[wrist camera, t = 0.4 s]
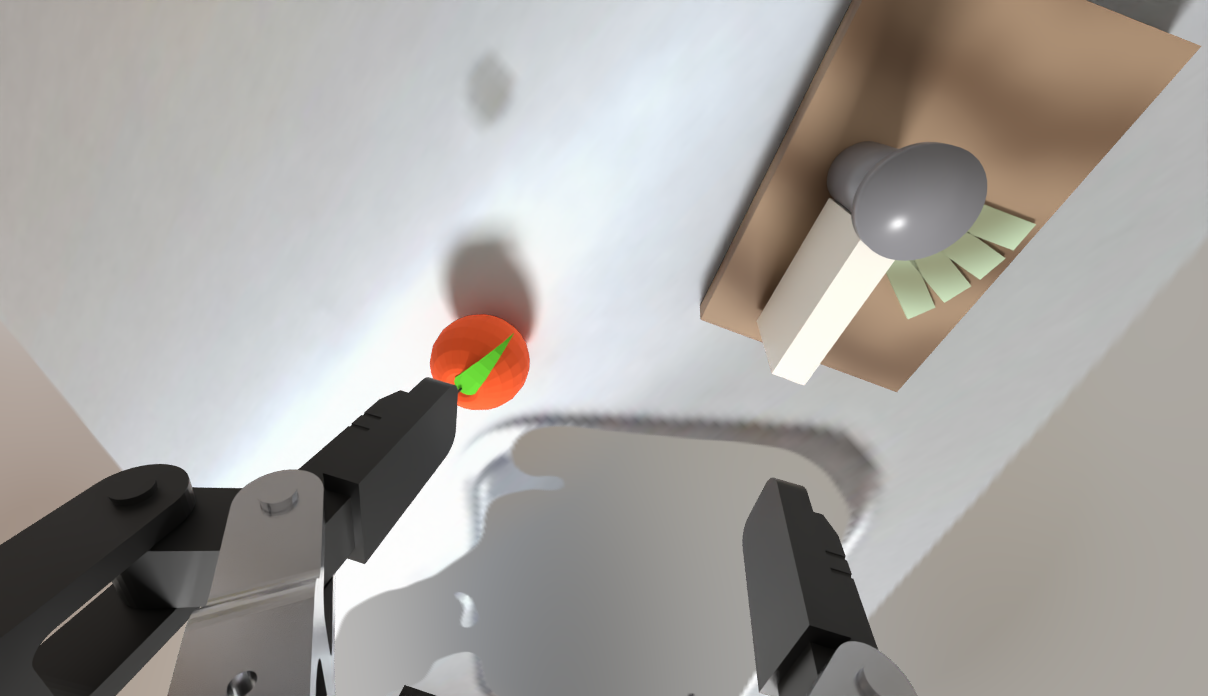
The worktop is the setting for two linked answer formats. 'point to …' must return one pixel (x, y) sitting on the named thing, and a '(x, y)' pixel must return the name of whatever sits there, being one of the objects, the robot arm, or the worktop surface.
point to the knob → (867, 241)
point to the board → (952, 116)
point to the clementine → (481, 360)
